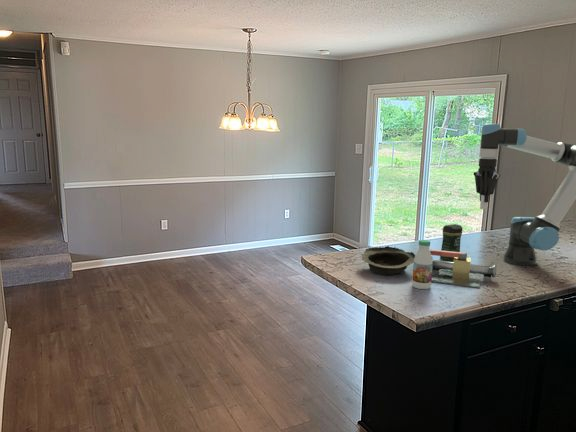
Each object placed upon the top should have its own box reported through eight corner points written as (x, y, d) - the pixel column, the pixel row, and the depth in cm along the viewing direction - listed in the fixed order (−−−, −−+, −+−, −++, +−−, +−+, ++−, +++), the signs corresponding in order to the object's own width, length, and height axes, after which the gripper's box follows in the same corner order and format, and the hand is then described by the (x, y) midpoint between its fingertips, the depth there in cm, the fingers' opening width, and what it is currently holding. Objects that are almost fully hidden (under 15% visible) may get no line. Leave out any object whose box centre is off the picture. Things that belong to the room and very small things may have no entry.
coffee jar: (450, 263, 232) (453, 227, 229) (437, 259, 239) (440, 224, 235) (462, 260, 237) (465, 225, 234) (449, 257, 244) (452, 222, 240)
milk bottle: (409, 283, 201) (412, 238, 197) (426, 283, 202) (430, 238, 198) (415, 289, 193) (419, 243, 190) (433, 289, 194) (437, 243, 190)
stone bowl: (399, 261, 233) (401, 244, 231) (423, 281, 210) (426, 262, 207) (352, 263, 228) (354, 245, 226) (372, 283, 204) (374, 263, 202)
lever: (466, 257, 211) (466, 252, 210) (466, 260, 207) (467, 254, 207) (429, 254, 216) (430, 249, 215) (429, 256, 212) (430, 250, 212)
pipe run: (493, 275, 214) (495, 257, 213) (495, 290, 194) (497, 270, 193) (421, 266, 226) (423, 249, 224) (416, 280, 206) (417, 261, 204)
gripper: (506, 158, 209) (500, 210, 214) (481, 157, 221) (477, 206, 225) (494, 159, 206) (489, 211, 210) (470, 157, 217) (466, 207, 222)
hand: (483, 208), depth 218 cm, fingers closed
